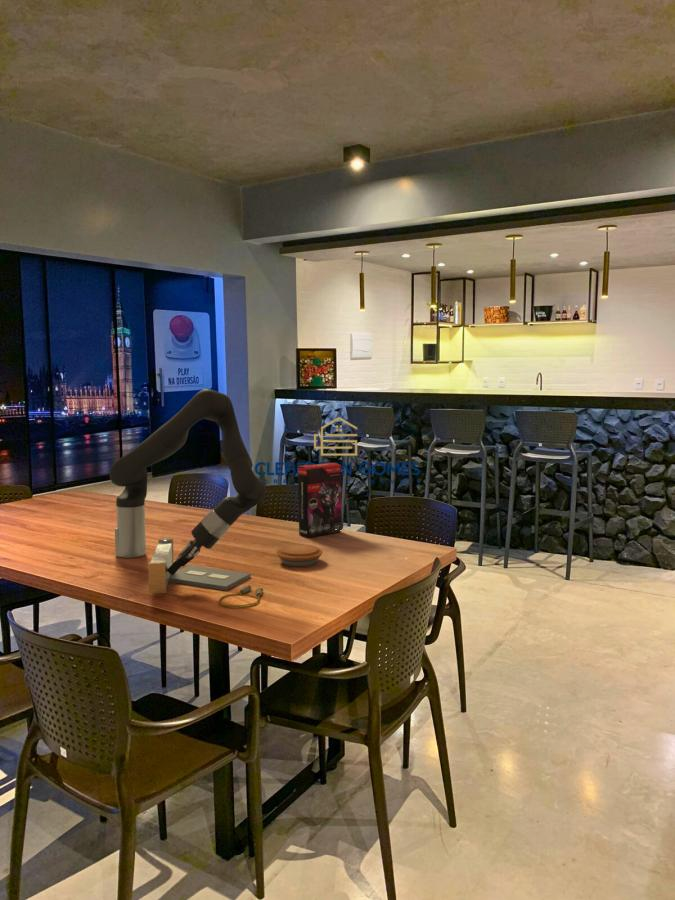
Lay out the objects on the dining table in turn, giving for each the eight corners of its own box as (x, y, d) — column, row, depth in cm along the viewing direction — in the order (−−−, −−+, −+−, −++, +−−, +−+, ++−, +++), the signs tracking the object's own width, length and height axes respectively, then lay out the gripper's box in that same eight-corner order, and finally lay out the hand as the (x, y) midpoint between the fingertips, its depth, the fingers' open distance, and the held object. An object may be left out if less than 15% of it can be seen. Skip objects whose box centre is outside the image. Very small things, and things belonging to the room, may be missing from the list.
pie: (305, 553, 238) (305, 539, 237) (331, 563, 225) (331, 549, 225) (267, 560, 229) (267, 546, 228) (292, 571, 216) (292, 556, 216)
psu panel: (144, 577, 208) (144, 573, 207) (172, 566, 220) (172, 561, 220) (226, 590, 197) (226, 585, 196) (250, 577, 209) (250, 572, 209)
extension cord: (279, 599, 191) (279, 592, 191) (235, 613, 179) (235, 606, 179) (250, 589, 199) (250, 583, 199) (207, 602, 188) (206, 595, 187)
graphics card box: (307, 538, 259) (307, 467, 255) (296, 535, 264) (297, 465, 261) (342, 532, 269) (343, 464, 266) (331, 529, 274) (332, 462, 271)
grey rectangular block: (159, 566, 215) (159, 538, 214) (174, 566, 215) (173, 538, 214) (149, 594, 188) (148, 562, 187) (165, 593, 188) (165, 562, 187)
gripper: (202, 515, 203) (162, 558, 203) (200, 525, 190) (157, 570, 190) (221, 532, 204) (181, 574, 204) (220, 542, 191) (177, 587, 191)
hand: (169, 572), depth 197 cm, fingers closed
